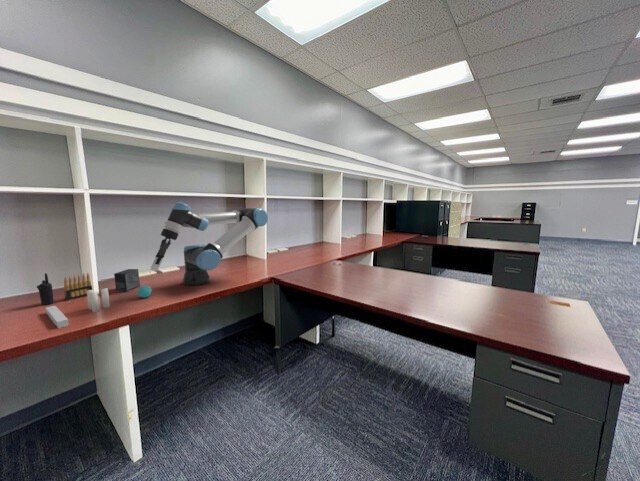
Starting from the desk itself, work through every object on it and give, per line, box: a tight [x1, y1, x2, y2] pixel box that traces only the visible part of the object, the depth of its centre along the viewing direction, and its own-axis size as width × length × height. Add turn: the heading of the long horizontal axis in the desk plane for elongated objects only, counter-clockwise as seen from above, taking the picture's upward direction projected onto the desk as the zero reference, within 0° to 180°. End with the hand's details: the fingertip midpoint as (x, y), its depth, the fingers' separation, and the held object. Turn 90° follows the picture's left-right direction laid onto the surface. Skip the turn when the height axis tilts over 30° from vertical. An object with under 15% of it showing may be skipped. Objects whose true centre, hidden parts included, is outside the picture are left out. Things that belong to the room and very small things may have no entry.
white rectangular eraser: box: [45, 305, 69, 329], centre depth 108 cm, size 3×24×2 cm, turn 54°
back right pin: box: [86, 289, 95, 311], centre depth 119 cm, size 2×2×8 cm
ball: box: [137, 285, 152, 299], centre depth 134 cm, size 6×6×6 cm
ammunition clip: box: [63, 272, 93, 302], centre depth 133 cm, size 11×2×12 cm, turn 152°
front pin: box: [100, 287, 111, 309], centre depth 121 cm, size 2×2×8 cm
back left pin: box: [90, 291, 100, 313], centre depth 116 cm, size 2×2×8 cm
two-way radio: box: [36, 272, 55, 305], centre depth 124 cm, size 6×4×15 cm
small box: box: [113, 268, 141, 293], centre depth 147 cm, size 11×6×10 cm, turn 178°
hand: (153, 269), depth 131 cm, fingers open, 13 cm apart
